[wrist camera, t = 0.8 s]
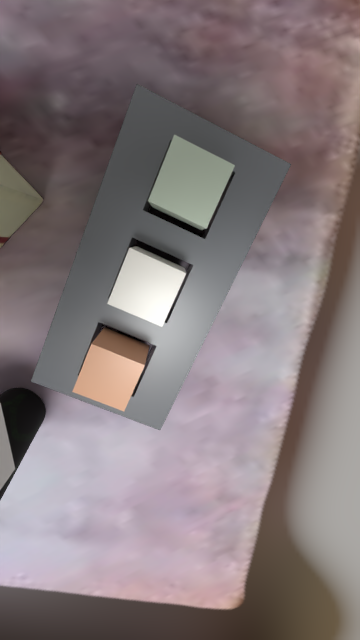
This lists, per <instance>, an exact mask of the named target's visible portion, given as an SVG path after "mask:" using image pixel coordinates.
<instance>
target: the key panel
mask: <svg viewBox="0 0 360 640" xmlns="http://www.w3.org/2000/svg"><path fill="white" fill-rule="evenodd" d="M174 135H176V136H178V137H180V138H182V139H184V140H186V141H188V142H190V143H192V144H194V145H196V146H198V147H200V148H202V149H204V150H206V151H208V152H210V153H212V154H214V155H216V156H218V157H220V158H222V159H224V160H226V161H228V162H230V163H231V164H233V165H235V167H234V169H233V171H232V173H231V176H230V178H229V180H228V182H227V184H226V187H225V189H224V191H223V193H222V195H221V198H220V200H219V202H218V204H217V207H216V209H215V211H214V213H213V215H212V218H211V220H210V222H209V224H208V227H207V229H206V230H205V232H204V235H203V237H202V238H201V237H199V236H197V235H195V234H193V233H191V232H189V231H187V230H184V229H182V228H180V227H178V226H176V225H174V224H172V223H169V222H167V221H165V220H163V219H161V218H159V217H157V216H155V215H152V214H150V213H148V209H149V207H150V203H149V201H148V200H149V197H150V195H151V192H152V190H153V187H154V184H155V182H156V179H157V177H158V174H159V172H160V169H161V167H162V164H163V162H164V159H165V157H166V154H167V152H168V149H169V147H170V144H171V142H172V139H173V137H174ZM290 165H291V164H290V163H288V162H286V161H284V160H282V159H280V158H278V157H276V156H274V155H272V154H270V153H269V152H267V151H265V150H263V149H261V148H259V147H257V146H255V145H253V144H251V143H249V142H247V141H246V140H244V139H242V138H240V137H238V136H236V135H234V134H232V133H230V132H228V131H226V130H224V129H222V128H221V127H219V126H217V125H215V124H213V123H211V122H209V121H207V120H205V119H203V118H201V117H199V116H198V115H196V114H194V113H192V112H190V111H188V110H186V109H184V108H182V107H180V106H178V105H176V104H174V103H173V102H171V101H169V100H167V99H165V98H163V97H161V96H159V95H157V94H155V93H153V92H151V91H150V90H148V89H146V88H144V87H142V86H140V85H138V84H137V85H136V88H135V91H134V93H133V96H132V99H131V102H130V105H129V108H128V110H127V113H126V116H125V119H124V122H123V124H122V127H121V130H120V133H119V136H118V138H117V141H116V144H115V147H114V150H113V152H112V155H111V158H110V161H109V164H108V166H107V169H106V172H105V175H104V178H103V180H102V183H101V186H100V189H99V192H98V195H97V197H96V200H95V203H94V206H93V209H92V211H91V214H90V217H89V220H88V223H87V225H86V228H85V231H84V234H83V237H82V239H81V242H80V245H79V248H78V251H77V253H76V256H75V259H74V262H73V265H72V267H71V270H70V273H69V276H68V279H67V282H66V284H65V287H64V290H63V293H62V296H61V298H60V301H59V304H58V307H57V310H56V312H55V315H54V318H53V321H52V324H51V326H50V329H49V332H48V335H47V338H46V340H45V343H44V346H43V349H42V352H41V354H40V357H39V360H38V363H37V366H36V368H35V371H34V374H33V377H32V380H31V382H33V383H36V384H39V385H41V386H44V387H47V388H49V389H52V390H55V391H57V392H60V393H63V394H65V395H68V396H70V397H73V398H76V399H78V400H81V401H84V402H86V403H89V404H92V405H94V406H97V407H100V408H102V409H105V410H108V411H110V412H113V413H115V414H118V415H121V416H123V417H126V418H129V419H131V420H134V421H137V422H139V423H142V424H145V425H147V426H150V427H152V428H155V429H158V430H161V428H162V426H163V424H164V422H165V420H166V418H167V416H168V414H169V411H170V409H171V407H172V405H173V403H174V401H175V399H176V397H177V395H178V393H179V391H180V389H181V387H182V385H183V383H184V381H185V379H186V377H187V375H188V373H189V371H190V369H191V367H192V365H193V363H194V361H195V359H196V357H197V355H198V353H199V351H200V348H201V346H202V344H203V342H204V340H205V338H206V336H207V334H208V332H209V330H210V328H211V326H212V324H213V322H214V320H215V318H216V316H217V314H218V312H219V310H220V308H221V306H222V304H223V302H224V300H225V298H226V296H227V294H228V292H229V290H230V287H231V285H232V283H233V281H234V279H235V277H236V275H237V273H238V271H239V269H240V267H241V265H242V263H243V261H244V259H245V257H246V255H247V253H248V251H249V249H250V247H251V245H252V243H253V241H254V239H255V237H256V235H257V233H258V231H259V229H260V226H261V224H262V222H263V220H264V218H265V216H266V214H267V212H268V210H269V208H270V206H271V204H272V202H273V200H274V198H275V196H276V194H277V192H278V190H279V188H280V186H281V184H282V182H283V180H284V178H285V176H286V174H287V172H288V170H289V168H290ZM136 239H137V240H139V241H141V242H144V243H146V244H148V245H150V246H152V247H155V248H157V249H159V250H161V251H163V252H166V253H168V254H170V255H172V256H174V257H177V258H179V259H181V260H183V261H185V262H188V263H190V266H189V268H188V270H187V272H186V275H185V278H184V280H183V282H182V284H181V286H180V289H179V291H178V293H177V295H176V298H175V300H174V302H173V304H172V306H171V309H170V311H169V313H168V315H167V318H166V320H165V322H164V324H163V326H162V327H161V326H159V325H156V324H154V323H151V322H149V321H147V320H144V319H142V318H140V317H137V316H135V315H132V314H130V313H128V312H125V311H123V310H121V309H118V308H116V307H114V306H111V305H109V304H107V303H108V300H109V298H110V295H111V293H112V290H113V288H114V285H115V283H116V280H117V278H118V275H119V273H120V270H121V268H122V265H123V263H124V260H125V258H126V255H127V253H128V250H129V248H130V247H134V244H135V242H136ZM103 324H105V325H107V326H110V327H112V328H115V329H117V330H119V331H122V332H124V333H127V334H129V335H131V336H134V337H136V338H139V339H141V340H144V341H146V342H148V343H151V344H153V345H154V346H153V348H152V350H151V352H150V354H149V357H148V359H147V361H146V363H145V366H144V369H143V371H142V373H141V375H140V377H139V380H138V382H137V384H136V386H135V389H134V391H133V393H132V395H131V397H130V400H129V402H128V404H127V406H126V408H125V411H121V410H119V409H116V408H113V407H111V406H108V405H106V404H103V403H100V402H98V401H95V400H92V399H90V398H87V397H85V396H82V395H79V394H77V393H74V392H72V391H73V389H74V386H75V384H76V381H77V379H78V376H79V374H80V371H81V369H82V366H83V364H84V361H85V358H86V356H87V353H88V351H89V348H90V346H91V344H92V342H93V341H94V340H95V338H96V337H97V336H98V335H99V332H100V330H101V327H102V325H103Z"/></svg>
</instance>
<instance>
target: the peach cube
mask: <svg viewBox="0 0 360 640" xmlns="http://www.w3.org/2000/svg"><path fill="white" fill-rule="evenodd" d="M148 350H149V345H147V344H145V343H142V342H140V341H137V340H135V339H133V338H130V337H128V336H125V335H123V334H120V333H118V332H116V331H113V330H111V329H108V328H106V327H104V328H103V330H102V331H101V332H100V333H99V335H98V336H97V337H96V338H95V340H94V341H93V342H92V344H91V346H90V348H89V351H88V353H87V356H86V358H85V361H84V364H83V366H82V369H81V371H80V374H79V376H78V379H77V381H76V384H75V386H74V389H73V391H72V392H74V393H77V394H79V395H82V396H85V397H87V398H90V399H92V400H95V401H98V402H100V403H103V404H106V405H108V406H111V407H113V408H116V409H119V410H121V411H125V408H126V406H127V404H128V402H129V400H130V397H131V395H132V393H133V391H134V389H135V386H136V384H137V382H138V380H139V377H140V375H141V373H142V371H143V369H144V366H145V363H146V359H147V354H148Z"/></svg>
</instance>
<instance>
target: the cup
mask: <svg viewBox="0 0 360 640" xmlns="http://www.w3.org/2000/svg"><path fill="white" fill-rule="evenodd" d="M0 403H1V407H2V412H3V416H4V421H5V425H6V430H7V434H8V439H9V443H10V448H11V452H12V457H13V461H14V466H15V470H14V471H13V473H12V474H11V476H10V477H9V478H8V480H7V481H6V483H5V484H4V485H3V487H2V488H1V490H0V500H1V498H2V496H3V494H4V492H5V491H6V489H7V487H8V485H9V483H10V481H11V479H12V478H13V476H14V474H15V472H16V470H17V468H18V466H19V465H20V463H21V461H22V459H23V457H24V455H25V453H26V452H27V450H28V448H29V446H30V444H31V442H32V440H33V439H34V437H35V435H36V433H37V431H38V429H39V427H40V426H41V424H42V422H43V420H44V417H45V406H44V403H43V401H42V400H41V398H40V397H39V396H38V395H37V394H35V393H34V392H32V391H30V390H28V389H24V388H14V389H10V390H8V391H6V392H4V393H3V394H1V395H0Z"/></svg>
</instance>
